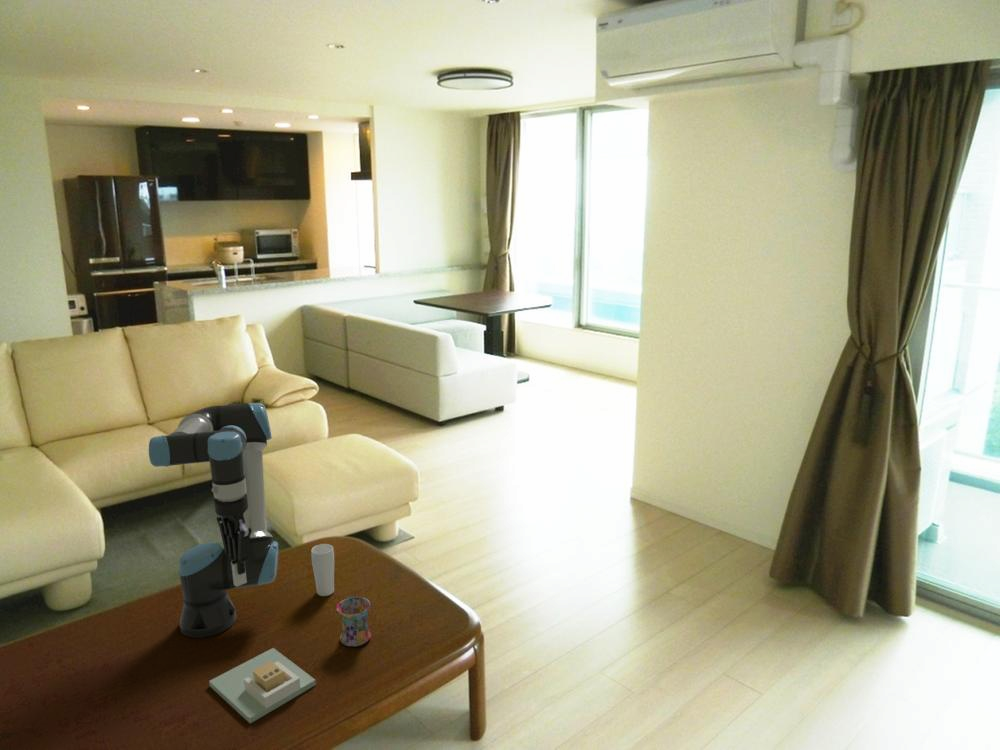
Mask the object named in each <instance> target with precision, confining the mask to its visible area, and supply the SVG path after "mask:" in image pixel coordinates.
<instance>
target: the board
mask: <svg viewBox="0 0 1000 750" xmlns="http://www.w3.org/2000/svg"><path fill="white" fill-rule="evenodd" d="M270 661H271V662H272V663H274V664H275V665H276V666H277V667H279V668H280V669H281V670H283V671H284V679H285V682H284V683H283V684H282V685H278V686H277V687H276V688H275V689H271V691H269V692H268V693H267V692H265V691H264V690H263V689H262V688H261V687H259V686H258V685H257V684H256V683H255V682H254V680H253V670H255V669H257V668H259V667H261V666H263V665H265V664H267V663H268V662H270ZM208 683H209V687H210V688H211V689H212V690H213V691H214V692H215V693H216V694H218V695H219V696H220V697H221V698H222V699H223V700H224V701H225V702H226V703H227V704H228V705H229V706H230V707H231V708H232V709H233V710H235V711H236V712H237V713H238V715H240V716H241V717H242V718H243V719H244V720H246V722H248V723H249V724H251V723H254V722H256V721H257V720H259V719H261V718H262V717H264V716H265V715H267V714H269V713H271V712H272V711H275V710H276V709H278V708H279V707H281V706H283V705H284V704H286V703H288V702H289V701H291V700H293V699H294V698H296V697H298V696H299V695H301V694H303V693H305V692H306V691H308V690H309V689H312V688H313V687H315V686H316V685H317V684H316V683H317V681H316V679H315V678H313V677H312V675H310V674H309V673H307V672H306V671H305V670H303V669H302V668H300V666H298V665H297V664H295V663H294V662H293V661H292V660H290V659H289V658H288V657H286V656H285V655H284V654H282V653H281V652H279V651H278V650H277V649H276V648H274V647H272V648H270V649H267V650H266V651H264V652H263V653H260V654H258V655H256V656H254V657H253V658H251V659H249V660H247V661H245V662H243V663H241V664H238V665H237V666H235V667H233V668H231V669H230V670H228V671H225V672H224V673H222V674H220V675H218V676H216V677H214V678H212V679H210V680H209V681H208Z"/></svg>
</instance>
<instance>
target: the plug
mask: <svg viewBox="0 0 1000 750" xmlns="http://www.w3.org/2000/svg"><path fill="white" fill-rule="evenodd" d="M253 680H254V682H255V683H256V684H257V685H258V686H259V687H261V688H262V689H263V690H264V691H265V692H267V693H268V692H269V691H271V689H275V688H276V687H277V686H278V685H282V684H283V683H284V682H285V679H284V671H283V670H281V669H280V668H279V667H277V666H276V665H275V664H274V663H272V662H271V661H270V662H268V663H267V664H265V665H263V666H261V667H259V668H257V669H255V670H253Z"/></svg>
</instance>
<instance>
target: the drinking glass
mask: <svg viewBox="0 0 1000 750" xmlns="http://www.w3.org/2000/svg"><path fill="white" fill-rule="evenodd" d="M310 552H311V555H310V556H311V557H310V558H311V565H312V570H313V575H314V581H315V586H316V593H317V595H318V596H320V597H328V596H330V595H332V594H333V593H334V592H335V550H334V546H333V545H331V544H328V543H320V544H317V545H315V546H313V547H312V548H311V551H310Z"/></svg>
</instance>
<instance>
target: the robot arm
mask: <svg viewBox="0 0 1000 750" xmlns="http://www.w3.org/2000/svg"><path fill="white" fill-rule="evenodd" d="M271 430H272V429H271V426H270V421H269V417H268V413H267V409H266V405H264V403H261V402H243V403H235V404H224V405H223V404H222V405H213V406H206V407H203V408H201V409H198V410H196V411H193V412H191V413H189V414H187V415H186V416H184V417H183V418H181V420H180V422H179V423H178V426H177V428H176V429H174V430H173V431H172V432H171V433H170V434H168V435H165V434H161V435H159V436H154V437H151V438H150V440H149V442H148V458H149V462H150V464H151V465H152V466H153V467H156V468H157V467H158V468H159V467H165V468H166V467H170V466H171V467H172V466H179V465H180V466H181V465H188V464H189V465H190V464H200V463H209V467H210V474H211V475H210V476H211V482H212V483H211V484H212V488H211V489H210V490H211V492H212V493H213V497H214V499H213V502H214V503H213V504H214V511H215V514H216V515H218V516H216V521H217V525H218V527H219V531H220V535H221V540H222V545H223V546H222V545H221V543H219V542H215V541H209V542H204V543H203V542H202V543H199V544H198V545H195V546H193V547H191V548H189V549H188V550H186V551H185V552H183V553H182V555H181V556H180V558H179V561H178V569H179V571H178V574H179V577H180V586H181V592H182V598H183V600H182V601H183V606H182V611H181V615H180V619H179V627H180V631H181V633H182V634H183V635H184V636H186V637H188V638H191V639H193V638H194V639H197V638H198V639H201V638H208V637H212V636H216V635H219V634H221V633H223V632H224V631H226V630H228V629H230V627H232V626H233V625H234V624H235V622H236V620H237V610H236V607H235V606H234V604H233V601H232V599H231V598H230V596H229V593H228V591H227V590H233V589H240V588H247V587H254V586H261V585H266V584H271V583H272V582H274V581H275V579H276V578H277V572H278V562H279V542H278V541H275V540H274V538H273V535H272V534H271V533H270V532H269V531H268V528H267V510H266V508H267V507H266V497H265V496H266V493H265V492H266V491H265V480H264V464H263V463H264V462H263V451H264V450H265V449H266V447H267V446H268V441H269V440H271V439H272V438H273V437H272V431H271Z"/></svg>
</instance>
